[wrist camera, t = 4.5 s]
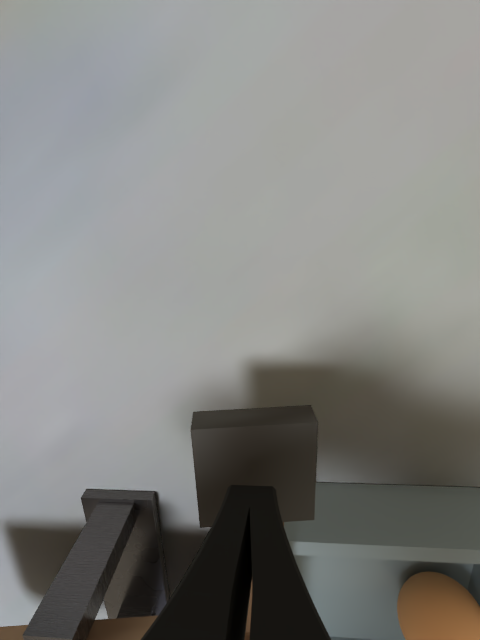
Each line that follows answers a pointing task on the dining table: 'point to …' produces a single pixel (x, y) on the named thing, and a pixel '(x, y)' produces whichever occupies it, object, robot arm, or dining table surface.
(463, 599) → the ball
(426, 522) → the tray
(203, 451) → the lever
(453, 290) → the dining table surface
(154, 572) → the stand
